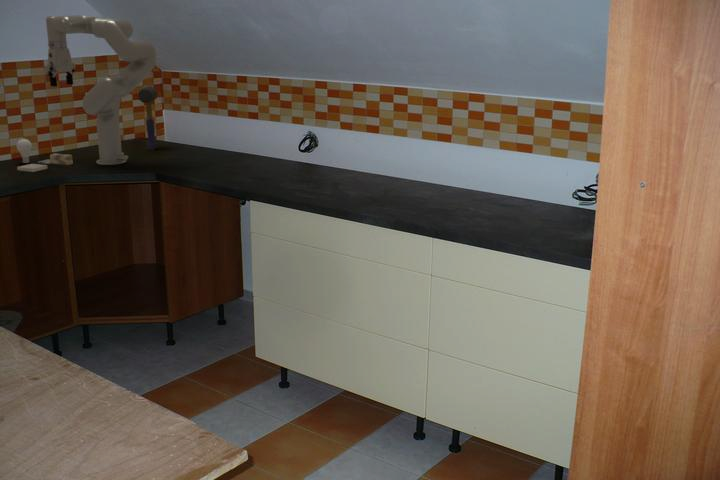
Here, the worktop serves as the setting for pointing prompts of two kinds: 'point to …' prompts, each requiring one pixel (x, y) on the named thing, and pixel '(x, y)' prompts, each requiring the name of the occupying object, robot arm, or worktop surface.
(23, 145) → the lightbulb
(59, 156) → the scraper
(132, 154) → the worktop surface
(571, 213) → the worktop surface
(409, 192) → the worktop surface
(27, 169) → the tile
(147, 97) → the rubber mallet
